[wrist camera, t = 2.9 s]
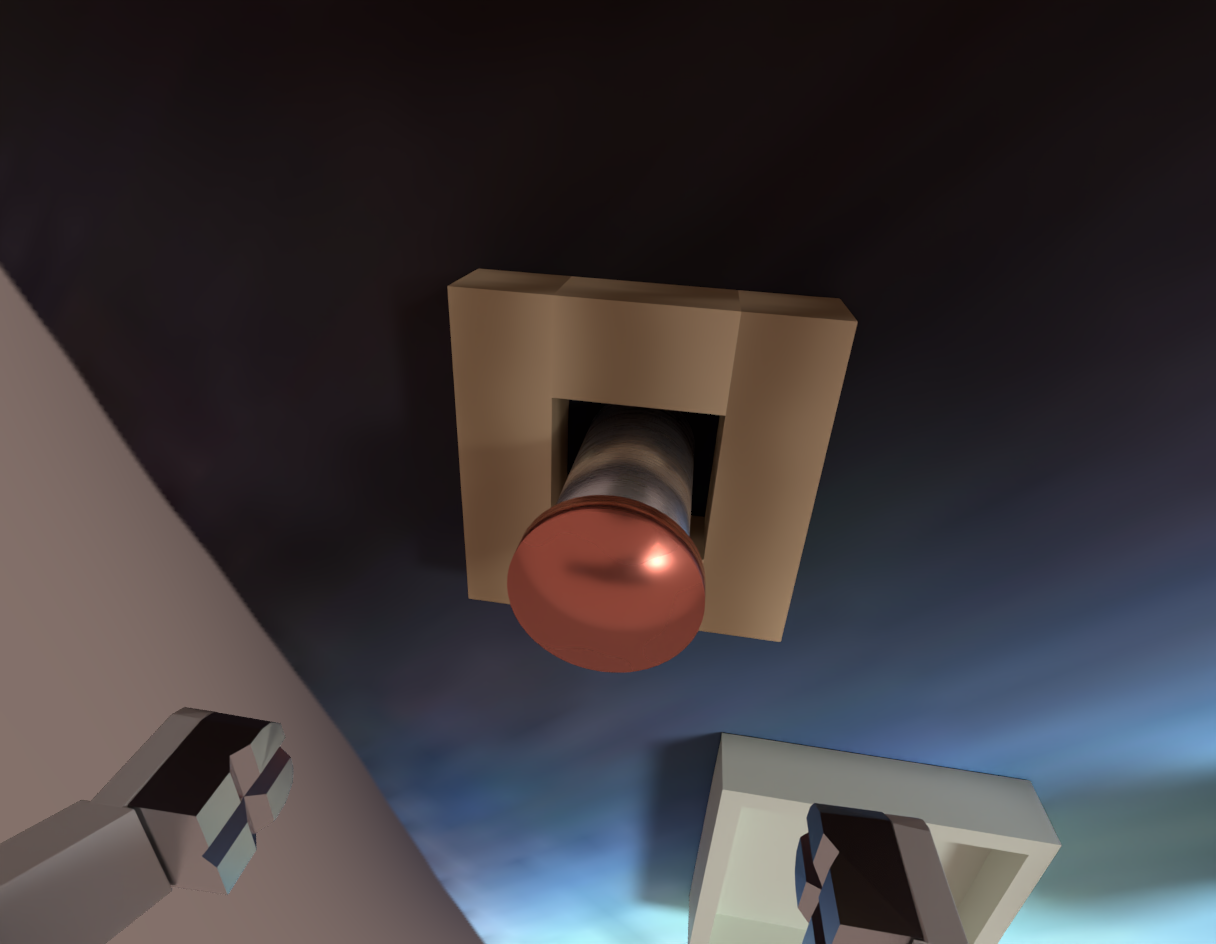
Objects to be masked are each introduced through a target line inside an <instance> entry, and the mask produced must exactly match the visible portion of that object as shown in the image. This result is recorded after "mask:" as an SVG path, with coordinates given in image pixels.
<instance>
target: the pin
mask: <svg viewBox="0 0 1216 944" xmlns="http://www.w3.org/2000/svg"><path fill="white" fill-rule="evenodd" d="M694 452H695V441H694V435H693V431H692V429H691V426H690V424H689V423H688V421H687V419H686V418H685V417H684V415H683V414H682V413H681V412H680V411H676V410H666V409H656V408H647V407H637V406H627V405H618V404H607V405H605V406H604V407H603V408H602V409H600V410H599V412H598V413H597V414H596V415H595V417H594V418H593V420H592V422H591V424H590V426H589V429H588V431H587V433H586V436H585V438H584V440H583V443H582V445H581V447H580V450H579V452H578V454H577V457H576V459H575V461H574V464H573V466H572V469H571V471H570V473H569V476H568V478H567V480H566V483H565V485H564V487H563V490H562V492H561V494H560V497H559V499H558V501H557V504H556V505H554V506H552V507H551V508H549V509H548V510H546V511H545V512H543V513H542V514H541V515H539V516H538V517H537V518H536V519H535V520H534V521H533V522H532V523H531V525H530V526H529V527H528V528H527V530H526V531H525V533H524V535H523V536H522V538H521V541H520V543H519V545H518V547H517V549H516V551H515V553H514V555H513V558H512V560H511V563H510V565H509V570H508V575H507V590H508V597H509V601H510V604H511V607H512V609H513V612H514V614H515V616H516V618H517V619H518V621H519V623H520V625H521V626H522V627H523V628H524V630H525V631H526V632H527V633H528V634H529V636H530V637H531V638H532V639H533V640H534V641H535V642H537V643H538V644H539V645H540V646H542V647H543V648H544V649H545V650H547V651H548V652H550V653H551V654H553V655H555V656H557V657H558V658H560V659H562V660H564V661H566V662H569V663H571V664H574V665H576V666H580V667H583V668H587V669H591V670H596V671H603V672H633V671H639V670H644V669H648V668H651V667H654V666H657V665H660V664H662V663H664V662H666V661H668V660H670V659H671V658H673V657H674V656H676V655H677V654H679V653H680V652H681V651H682V650H683V649H685V648H686V647H687V645H688V644H689V643H690V642H691V641H692V640H693V638H694V637H695V635H696V634H697V632H698V630H699V628H700V625H701V623H702V620H703V616H704V611H705V585H706V580H705V570H704V566H703V562H702V559H701V556H700V554H699V551H698V549H697V548H696V546H695V544H694V543H693V541H692V539H691V538H690V537H689V535H690V519H691V502H692V486H693V469H694Z"/></svg>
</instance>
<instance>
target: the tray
mask: <svg viewBox="0 0 1216 944" xmlns="http://www.w3.org/2000/svg"><path fill="white" fill-rule="evenodd" d="M814 803H819V804H827V805H834V806H842V807H849V808H857V809H864V810H871V811H879V812H883V813H884V814H891V815H899V816H906V817H914V818H919V819H922V820H924V822H925V823H926V824H927V826H928V827H929V829H930V832H931V834H932V837H933V840H934V843H935V846H936V849H937V852H938V855H939V858H940V861H941V864H942V867H943V870H944V873H945V876H946V879H947V882H948V885H949V888H950V890H951V893H952V896H953V899H954V902H955V905H956V908H957V911H958V914H959V917H960V920H961V923H962V926H963V929H964V932H965V935H966V938H967V941H968V944H997V943H998V942H999V940H1000V939H1001V937H1002V936H1003V934H1004V933H1005V931H1006V930H1007V928H1008V927H1009V925H1010V924H1011V922H1012V921H1013V919H1014V918H1015V916H1016V914H1017V913H1018V911H1019V910H1020V908H1021V907H1022V905H1023V904H1024V902H1025V901H1026V899H1027V898H1028V896H1029V895H1030V893H1031V892H1032V890H1033V889H1034V887H1035V886H1036V884H1037V882H1038V881H1039V879H1040V878H1041V876H1042V875H1043V873H1044V872H1045V870H1046V869H1047V867H1048V866H1049V864H1050V863H1051V861H1052V860H1053V858H1054V857H1055V855H1056V854H1057V852H1058V850H1059V849H1060V847H1061V846H1062V845H1061V843H1060V841H1059V839H1058V837H1057V834H1056V832H1055V830H1054V828H1053V826H1052V824H1051V822H1050V820H1049V818H1048V816H1047V814H1046V812H1045V810H1044V808H1043V806H1042V804H1041V802H1040V800H1039V798H1038V796H1037V794H1036V792H1035V790H1034V788H1033V785H1032V783H1031V781H1029V780H1022V779H1016V778H1009V777H1003V776H997V775H990V774H984V773H977V772H971V771H965V770H958V769H952V768H945V767H939V766H932V765H926V764H920V763H913V762H907V761H900V760H894V759H888V758H881V757H875V756H868V755H862V754H855V753H849V752H843V751H836V750H830V749H823V748H817V747H811V746H804V745H798V744H791V743H785V742H778V741H772V740H766V739H759V738H753V737H746V736H740V735H734V734H727V733H722V735H721V740H720V745H719V750H718V755H717V760H716V765H715V770H714V775H713V780H712V785H711V790H710V795H709V800H708V805H707V810H706V815H705V820H704V825H703V830H702V835H701V840H700V845H699V850H698V855H697V860H696V865H695V870H694V875H693V880H692V885H691V890H690V895H689V919H688V944H802V942H803V939H804V936H805V933H806V930H807V928H808V925H809V923H808V922H807V920H806V919H805V918H804V916H803V915H802V913H801V912H800V910H799V909H798V906H797V898H796V889H795V861H796V851H797V847H798V843H799V840H800V837H801V836H803V835H804V834H806V833H808V826H807V819H806V817H807V814H808V811H809V809H810V806H811V805H813V804H814Z"/></svg>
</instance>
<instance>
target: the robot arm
mask: <svg viewBox="0 0 1216 944" xmlns="http://www.w3.org/2000/svg"><path fill="white" fill-rule="evenodd" d="M284 739H285V735H284V732H283V729H282V726H281V724H280V723H276V722H270V721H264V720H259V719H253V718H247V717H241V716H235V715H229V714H223V713H218V712H213V711H207V710H199V709H193V708H187V707H184V708H182V709H180V710H179V711H177V712H175V713H173V714H172V715H171V716H170V717H169V718H168V719H167V720H166V721H165V722H164V723H163V724H162V725H161V726H160V727H159V728H158V730H157V731H156V732H155V733H154V734H153V735H152V736H151V737H150V738H149V739H148V740H147V741H146V743H144V745H143V746H142V747H141V748H140V749H139V750H138V751H137V752H136V753H135V754H134V755H133V756H132V757H131V758H130V759H129V761H128V762H127V763H126V764H125V765H124V766H123V767H122V768H121V769H120V770H119V771H118V772H117V773H116V775H115V776H114V777H113V778H112V779H111V780H110V781H109V782H108V783H107V784H106V785H105V786H104V787H103V788H102V790H101V791H100V792H99V793H98V794H97V795H96V796H95V797H94V798H93V799H92V800H91V801H86V800H80V801H79V802H76V803H75V804H73V805H71V806H69V807H67V808H65V809H63V810H62V811H60V812H58V813H56V814H54V815H52V816H51V817H49V818H47V819H45V820H43V821H42V822H39V823H38V824H36V825H34V826H32V827H30V828H28V829H26V830H25V831H23V832H21V833H19V834H17V835H16V836H14V837H12V838H10V839H8V840H6V841H4V842H2V843H1V844H0V944H106V943H107V942H108V941H109V940H111V939H112V938H113V937H114V936H116V935H117V934H118V933H119V932H121V931H122V930H123V929H124V928H126V927H127V926H128V925H130V924H131V923H132V922H133V921H135V920H136V919H137V918H138V917H140V916H141V915H142V914H143V913H145V912H146V911H147V910H148V909H150V908H151V907H152V906H153V905H155V904H156V903H157V902H159V901H160V900H161V899H162V898H163V897H165V896H166V895H167V894H169V893H170V892H171V891H172V888H171V887H177V888H184V889H191V890H197V891H205V892H212V893H218V894H225V895H228V894H229V892H230V890H231V889H232V887H233V886H234V884H235V883H236V881H237V880H238V878H239V876H240V875H241V873H242V872H243V870H244V868H245V867H246V865H247V864H248V862H249V860H250V859H251V857H252V856H253V854H254V853H255V851H256V833H257V832H259V831H260V830H262V829H263V828H265V827H266V826H267V825H269V824H270V823H272V822H274V821H275V819H276V817H277V816H278V814H279V813H280V811H281V809H282V808H283V806H284V804H285V803H286V800H287V797H288V794H289V791H290V788H291V785H292V782H293V765H292V761H291V757H290V756H289V755H288V754H287V753H286V752H285V751H284V750H283V749H281V747H280V745H281V743H282V742H283V740H284ZM806 819H807V826H808V833H806V834H804V835H803V836H801V837H800V840H799V843H798V847H797V851H796V861H795V889H796V898H797V906H798V909H799V910H800V912H801V913H802V915H803V916H804V918H805V919H806V920H807V922H808V923H809V925H808V928H807V930H806V933H805V936H804V939H803V942H802V944H968V941H967V938H966V935H965V932H964V929H963V926H962V923H961V920H960V917H959V914H958V911H957V908H956V905H955V902H954V899H953V896H952V893H951V890H950V888H949V885H948V882H947V879H946V876H945V873H944V870H943V867H942V864H941V861H940V858H939V855H938V852H937V849H936V846H935V843H934V840H933V837H932V834H931V832H930V829H929V827H928V826H927V824H926V823H925V822H924V820H922V819H919V818H914V817H906V816H899V815H891V814H884V813H883V812H879V811H871V810H864V809H857V808H849V807H842V806H834V805H827V804H819V803H814V804H813V805H811V806H810V809H809V811H808V814H807V817H806Z"/></svg>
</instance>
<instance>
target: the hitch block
mask: <svg viewBox="0 0 1216 944" xmlns="http://www.w3.org/2000/svg"><path fill="white" fill-rule="evenodd" d="M447 288H448V303H449V318H450V332H451V347H452V361H453V376H454V391H455V405H456V420H457V434H458V449H459V464H460V478H461V493H462V507H463V522H464V537H465V551H466V566H467V580H468V595H469V599H477V600H484V601H491V602H498V603H505V604H510V601H509V597H508V590H507V575H508V570H509V565H510V563H511V560H512V558H513V555H514V553H515V551H516V549H517V547H518V545H519V543H520V541H521V538H522V536H523V535H524V533H525V531H526V530H527V528H528V527H529V526H530V525H531V523H532V522H533V521H534V520H535V519H536V518H537V517H538V516H539V515H541V514H542V513H543V512H545V511H546V510H548V509H549V508H551V507H552V506H554V505H556V504H557V501H558V499H559V497H560V494H561V492H562V490H563V487H564V485H565V483H566V480H567V462H568V419H569V399H570V400H579V401H589V402H599V403H608V404H618V405H627V406H637V407H647V408H656V409H666V410H676V411H685V412H695V413H704V414H714V415H720V416H719V423H718V430H717V437H716V444H715V450H714V457H713V464H712V471H711V478H710V484H709V491H708V498H707V505H706V512H705V517H702V516H694V515H691V519H690V535H689V537H690V538H691V539H692V541H693V543H694V544H695V546H696V548H697V549H698V551H699V554H700V556H701V559H702V562H703V566H704V570H705V580H706V585H705V611H704V616H703V620H702V623H701V625H700V628H699V631H706V632H713V633H720V634H727V635H734V636H742V637H749V638H756V639H763V640H770V641H777V642H781V638H782V634H783V630H784V626H785V622H786V617H787V613H788V609H789V605H790V601H791V597H792V593H793V588H794V584H795V580H796V576H797V572H798V568H799V563H800V559H801V555H802V551H803V547H804V543H805V539H806V534H807V530H808V526H809V522H810V518H811V514H812V509H813V505H814V501H815V497H816V493H817V489H818V485H819V480H820V476H821V472H822V468H823V464H824V460H825V456H826V451H827V447H828V443H829V439H830V435H831V431H832V426H833V422H834V418H835V414H836V410H837V406H838V402H839V397H840V393H841V389H842V385H843V381H844V377H845V372H846V368H847V364H848V360H849V356H850V352H851V348H852V343H853V339H854V335H855V331H856V327H857V323H858V321H857V320H856V319H855V318H854V316H853V315H852V314H851V312H850V311H849V310H848V308H847V307H846V306H845V305H844V303H843V302H842V301H841V299H839V298H827V297H815V296H803V295H791V294H779V293H767V292H755V291H743V290H731V289H719V288H707V287H695V286H683V285H670V284H658V283H646V282H634V281H622V280H610V279H598V278H586V277H574V276H562V275H550V274H538V273H526V272H514V271H502V270H490V269H477V270H475V271H473V272H471V273H470V274H468V275H466V276H464V277H463V278H461V279H459V280H457V281H456V282H454V283H452V284H450V285H448V286H447Z"/></svg>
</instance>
